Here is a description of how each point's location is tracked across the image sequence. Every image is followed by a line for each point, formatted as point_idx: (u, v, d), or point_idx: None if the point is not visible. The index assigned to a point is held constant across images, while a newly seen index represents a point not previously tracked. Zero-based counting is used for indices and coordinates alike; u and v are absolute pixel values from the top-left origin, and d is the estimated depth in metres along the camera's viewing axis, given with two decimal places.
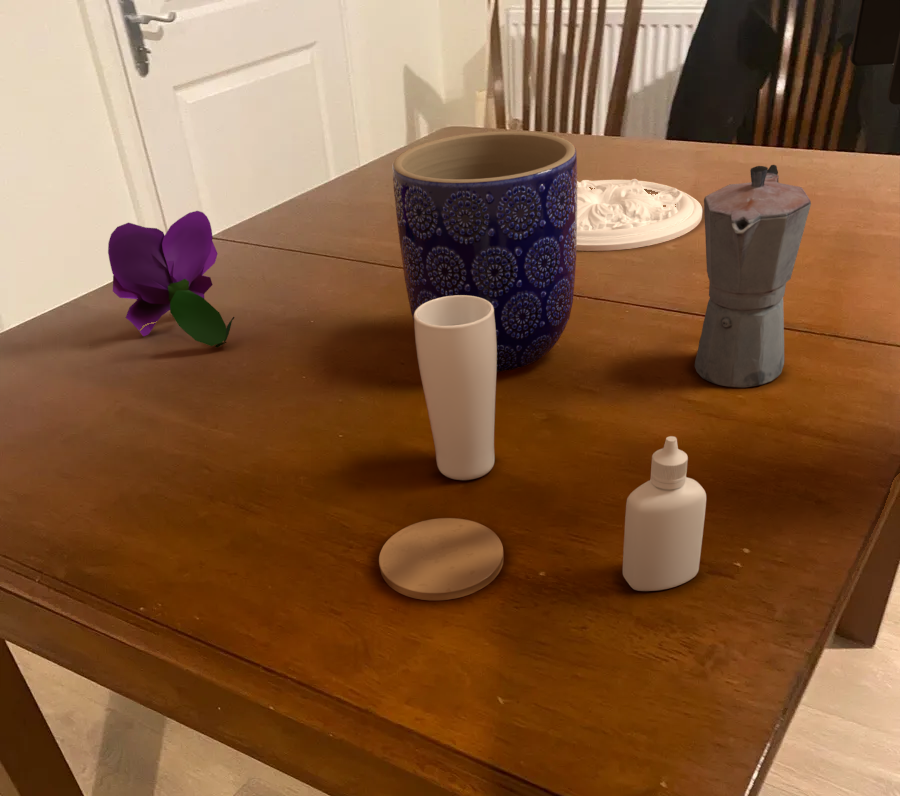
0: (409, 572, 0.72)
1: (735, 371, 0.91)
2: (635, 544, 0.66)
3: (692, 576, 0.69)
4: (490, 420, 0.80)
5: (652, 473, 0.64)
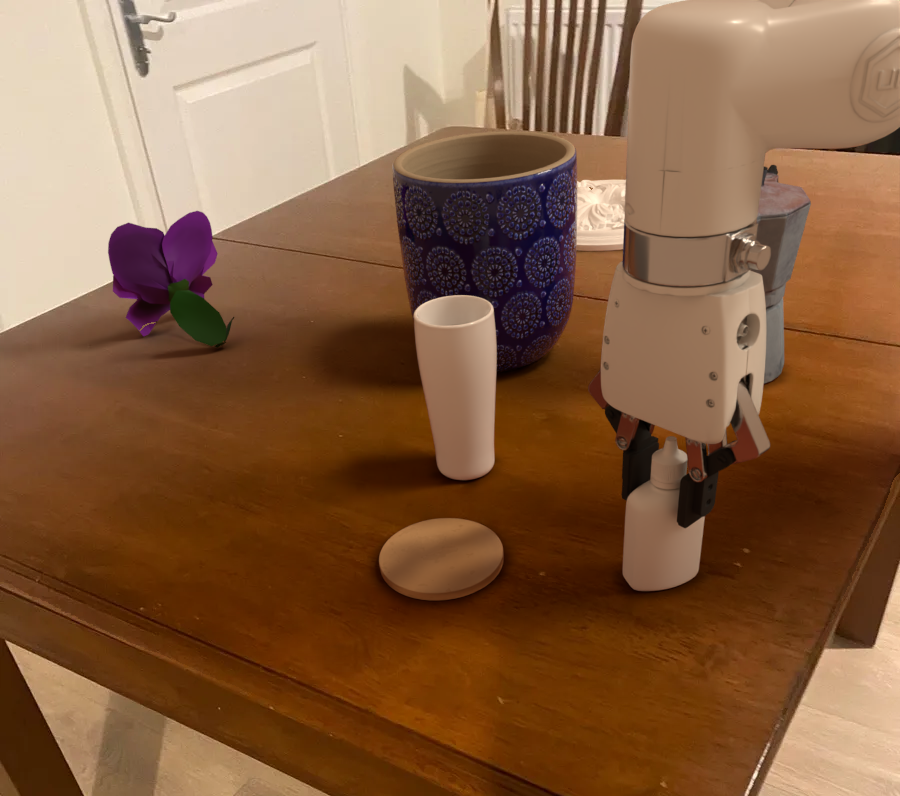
0: (409, 572, 0.72)
1: None
2: (635, 544, 0.66)
3: (692, 576, 0.69)
4: (490, 420, 0.80)
5: (652, 473, 0.64)
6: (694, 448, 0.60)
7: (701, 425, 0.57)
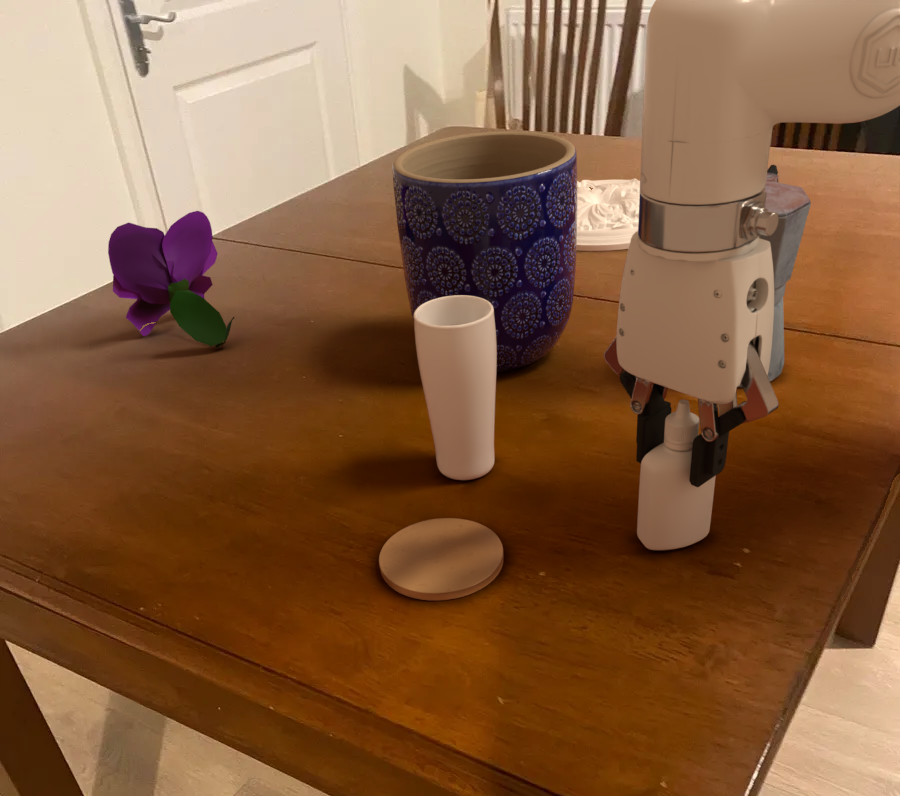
0: (409, 572, 0.72)
1: None
2: (649, 504, 0.69)
3: (703, 536, 0.72)
4: (490, 420, 0.80)
5: (665, 435, 0.67)
6: (706, 409, 0.63)
7: (713, 385, 0.60)
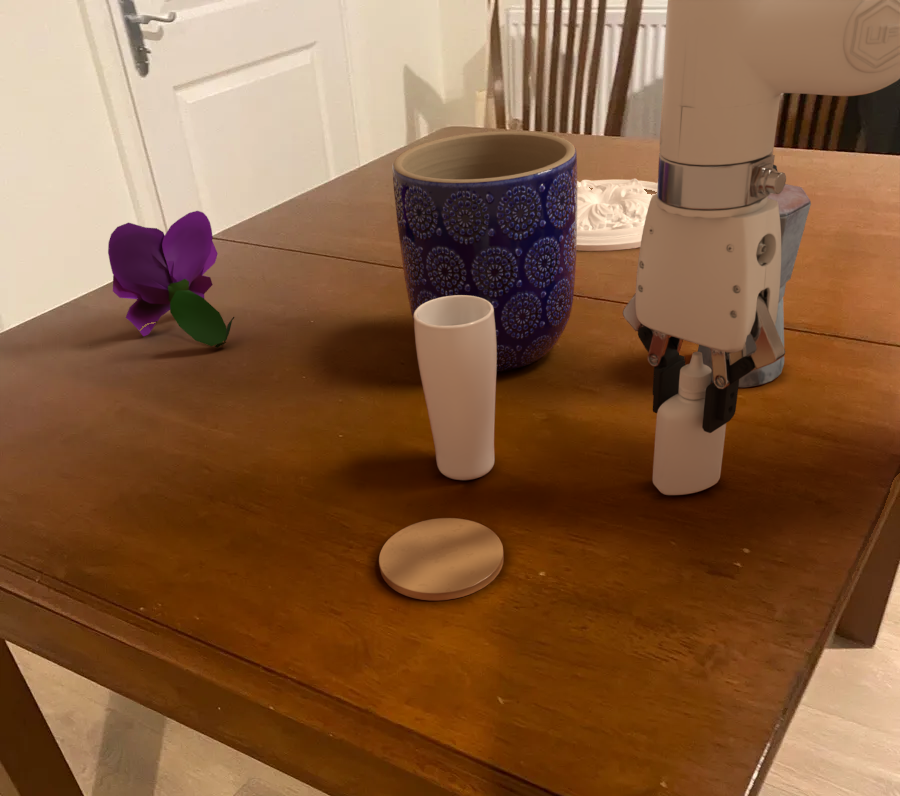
0: (409, 572, 0.72)
1: None
2: (665, 450, 0.75)
3: (714, 482, 0.78)
4: (490, 420, 0.80)
5: (680, 385, 0.73)
6: (718, 358, 0.69)
7: (725, 335, 0.66)
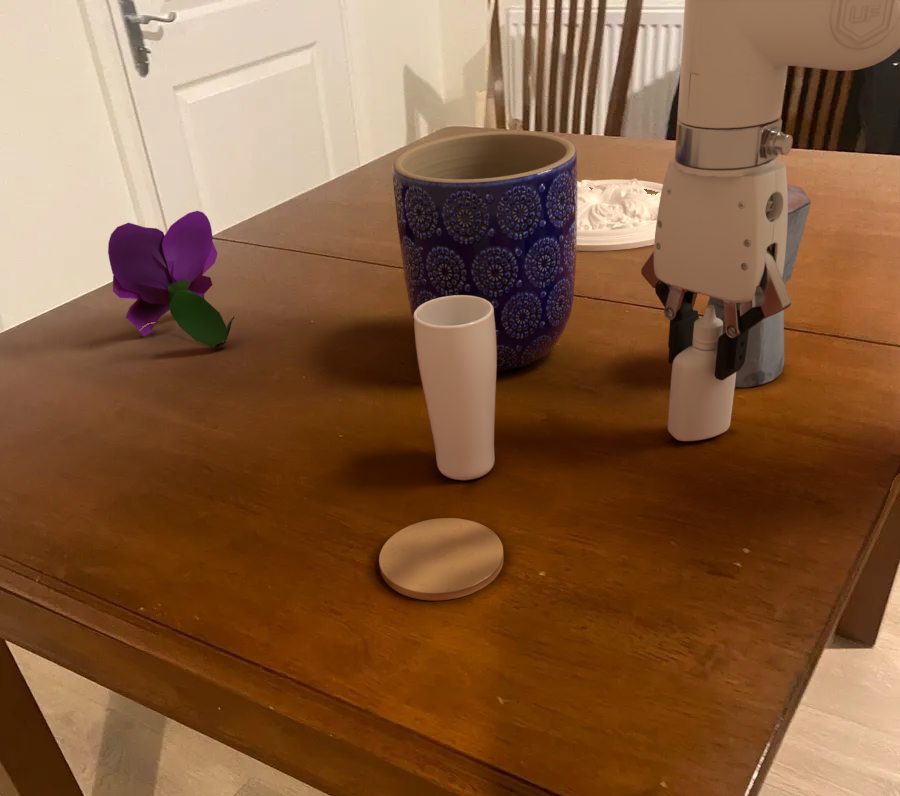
0: (409, 572, 0.72)
1: None
2: (680, 398, 0.82)
3: (725, 429, 0.85)
4: (490, 420, 0.80)
5: (694, 337, 0.79)
6: (730, 309, 0.75)
7: (737, 286, 0.73)
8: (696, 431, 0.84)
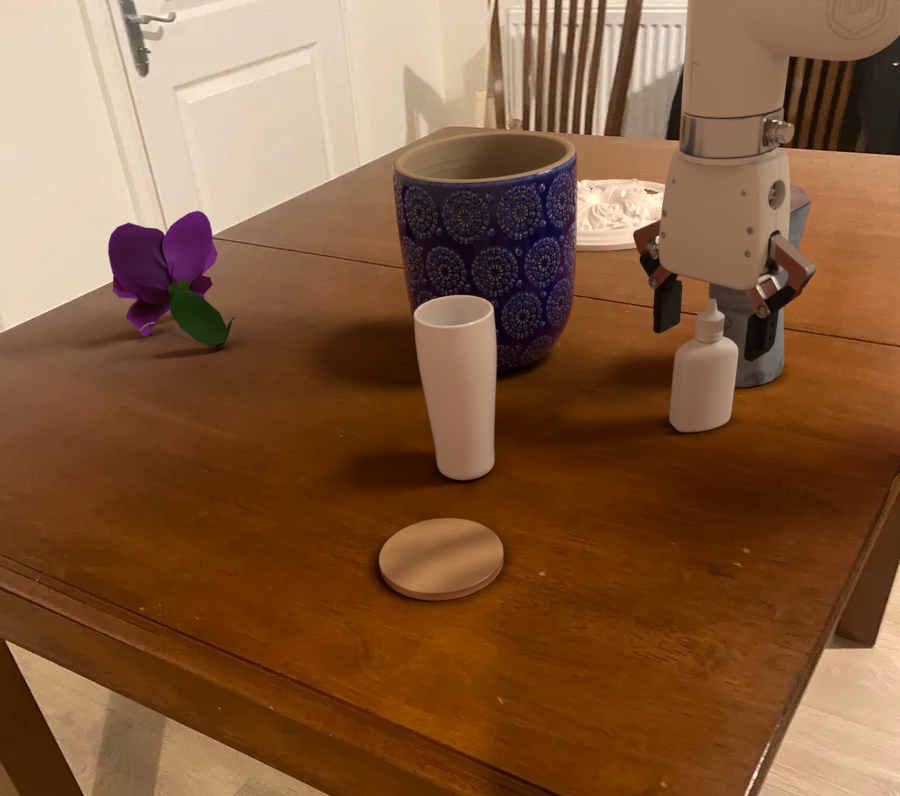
0: (409, 572, 0.72)
1: None
2: (681, 389, 0.83)
3: (725, 421, 0.86)
4: (490, 420, 0.80)
5: (696, 330, 0.81)
6: (751, 290, 0.75)
7: (740, 273, 0.74)
8: (697, 422, 0.85)
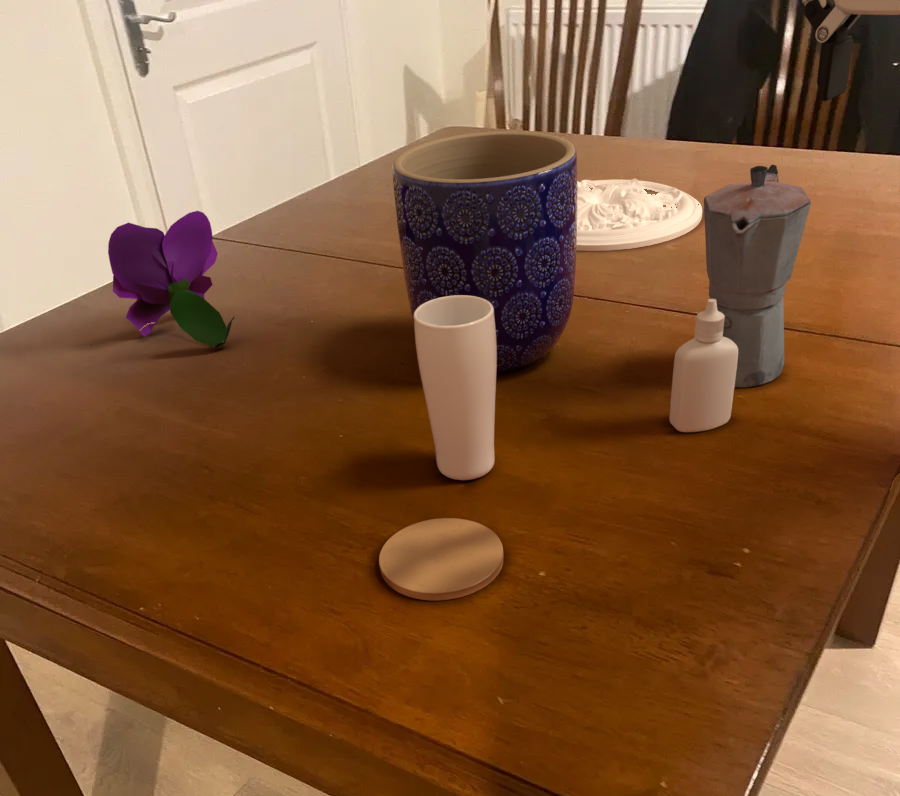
0: (409, 572, 0.72)
1: None
2: (681, 389, 0.83)
3: (725, 421, 0.86)
4: (490, 420, 0.80)
5: (696, 330, 0.81)
6: None
7: None
8: (697, 422, 0.85)
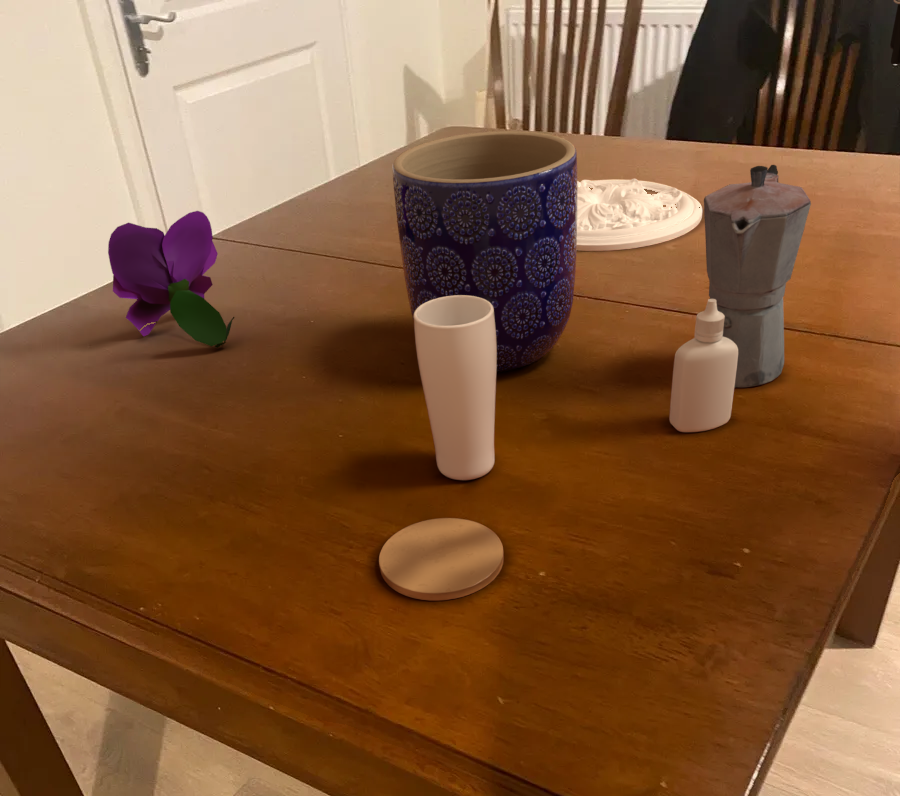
0: (409, 572, 0.72)
1: None
2: (681, 389, 0.83)
3: (725, 421, 0.86)
4: (490, 420, 0.80)
5: (696, 330, 0.81)
6: None
7: None
8: (697, 422, 0.85)
